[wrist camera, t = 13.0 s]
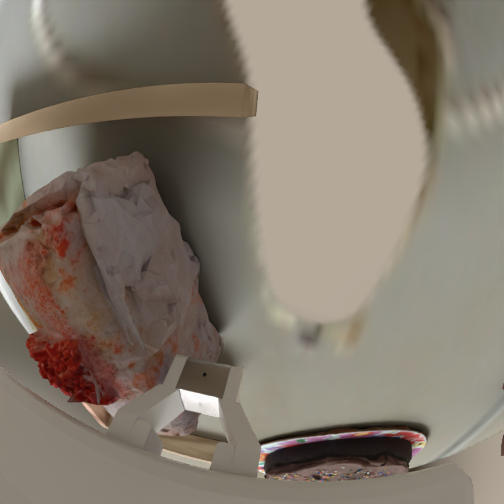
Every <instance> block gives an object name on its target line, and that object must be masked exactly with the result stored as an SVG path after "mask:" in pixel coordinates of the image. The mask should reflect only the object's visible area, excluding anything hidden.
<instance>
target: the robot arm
mask: <svg viewBox="0 0 504 504" xmlns="http://www.w3.org/2000/svg"><path fill="white" fill-rule="evenodd" d="M243 375H244V368H242V367H235V366H231V365H226V364H220V363H214V362H209V361H203V360H199V359H195V358H191V357H187V356H183V355H178V354H177V355H176V356H175V358H174V360H173V362H172V364H171V367H170V369H169V371H168V373H167V376H166V378H165V380H164V382H163V385H162V384H158V385H157V386H155V387H153V388H152V389H150V390H149V391H147V392H145V393H144V394H142V395H141V396H139V397H137V398H136V399H134V400H133V401H131V402H129V403H128V404H126V405H124V406H123V407H121V408H119V409H118V410H117V412H116V414H115V416H114V418H113V420H112V422H111V424H110V426H109V428H108V430H107V433H106V434H104V433H102V432H100V431H98V430H96V429H94V428H92V427H90V426H88V425H86V424H84V423H82V422H81V421H79V420H77V419H75V418H73V417H72V416H70V415H68V414H66V413H65V412H63V411H61V410H59V409H58V408H56V407H55V406H53V405H52V404H50V403H49V402H47V401H46V400H44V399H42V398H41V397H40V396H38V395H37V394H35V393H34V392H32V391H31V390H30V389H28V388H27V387H25V386H24V385H23V384H21V383H20V382H19V381H18V380H16V379H15V378H14V377H12V376H11V375H10V374H9V373H7V372H6V371H5V370H4V369H3V368H2V367H0V504H474V494H473V484H472V481H471V479H470V477H469V476H468V475H467V474H466V473H465V472H464V471H463V470H462V469H461V468H460V467H459V466H458V465H457V464H455V463H446V464H442V465H439V466H435V467H431V468H427V469H423V470H419V471H414V472H409V473H404V474H399V475H393V476H386V477H379V478H371V479H361V480H349V481H319V482H317V481H287V480H274V479H264V478H256V477H257V471H258V466H259V460H260V454H261V446H260V444H259V442H258V440H257V438H256V436H255V434H254V432H253V430H252V428H251V425H250V423H249V421H248V419H247V417H246V415H245V413H244V411H243V408H242V406H241V404H240V403H239V401H240V396H241V391H242V384H243ZM184 409H185V410H189V411H193V412H198V413H202V414H206V415H211V416H215V417H219V419H220V422H221V425H222V427H223V430H224V433H225V435H226V438H227V440H228V443H225V442H219V443H217V445H216V449H215V452H214V456H213V459H212V463H211V467H210V469H205V468H201V467H197V466H193V465H189V464H185V463H182V462H178V461H175V460H172V459H168V458H165V457H162V456H160V455H161V452H162V449H163V446H164V444H163V442H162V441H161V439H160V438H159V436H158V435H157V432H159V431H160V430H161V429H163V428H164V427H165V426H166V425H168V424H169V423H170V422H171V421H172V420H174V419H175V418H176V417H177V416H179V415H180V414H181V413H182V412H183V411H184Z"/></svg>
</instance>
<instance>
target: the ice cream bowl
mask: <svg viewBox="0 0 504 504" xmlns="http://www.w3.org/2000/svg"><path fill="white" fill-rule="evenodd" d="M502 389H503V390H504V384H503V387H502ZM503 455H504V435H503V439H502V444H501V456H503Z"/></svg>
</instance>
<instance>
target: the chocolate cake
mask: <svg viewBox="0 0 504 504" xmlns="http://www.w3.org/2000/svg"><path fill="white" fill-rule="evenodd" d="M426 443H427V437H426V436H425V434H424V433H423V432H418V431H414V430H412V429H410V428H408V427H407V426H404V425H403V426H386V427H369V428H365V429H361V430H360V429H356V428H345V427H344V428H335V429H331V430H327V431H323V432H319V433H313V434H306V435H301V436H296V437H290V438H285V439H280V440H274V441H270V442H267V443H264V444H260V446H261V454H260V460H259V466H258V471H260V472H262V473H266V475H265V476H264V477H265V479H274V480H287V481H317V482H319V481H349V480H361V479H371V478H379V477H386V476H393V475H399V474H404V473H407V472H408V470H409V465H408V464H409V462H410V460H411V459H412V457H413V456H415V455H416V454H417V453H418V452H420V451H421V450H422V449H423V447H424V446H425V445H426Z"/></svg>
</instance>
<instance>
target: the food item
mask: <svg viewBox="0 0 504 504" xmlns="http://www.w3.org/2000/svg"><path fill="white" fill-rule="evenodd" d="M148 165H149V159H146V158H144V156H143V155H142V154H141V153H139V152H137V151H135V152H134V153H132V154H130V155H129V156H128V155H123V156H119V157H114V158H110V159H108V160H106V161H101V162H99V161H97V162H94V163H92V164H91V165H89V166H87V167H85V168H83V169H78V170H77V172H72V171H69V172H65V173H64V174H62V175H61V176H59V177H57V178H56V179H54V180H53V181H51V182H50V183H49V184H47V185H46V186H44V187H42V188H41V189H39V190H37V191H36V192H35V193H33V194H32V195H30V196H29V197H28V198H27V199H26V200H25V201H24V202H23V203H22V204H21V205H20V206H19V208H18V209H17V210H16V211H15V212H14V213H13V214H12V216H11V218H10V219H9V221H7V222H6V223H5V224H4V225H2V226H1V227H0V270H1V273H2V274H3V276H4V278H5V280H6V281H7V283H8V285H9V286H10V288H11V289H12V291H13V293H14V295H15V297H16V299H17V301H18V303H19V304H20V306H21V308H22V309H23V311H24V312H25V313H26V315H27V316H28V318H29V319H30V321H31V322H32V324H33V325H34V327H35V328H36V330H37V331H36V332H35V333H32V334H30V338H28V339H27V341H26V346H27V348H28V349H29V352H30V356H31V357H32V358H33V359H34V360H35V361H38V362H39V364H38V367H39V368H40V369H39V372H40V374H41V376H42V378H44V379H48V380H49V382H50V385H53V386H54V387H55V388H58V387H59V388H60V389H61V391H62V392H63V393H64V394H65V395H68V396H71V397H70V398H69V400H68V402H85V403H90V404H94V405H101V406H102V407H104V408H105V409H106V410H107V411H108V412H109V413H110V414H111V415H110V416H112V417H113V418H114V416H115V414H116V412H117V410H118V409H119V408H121V407H123V406H124V405H126V404H128V403H129V402H131V401H133V400H134V399H136V398H137V397H139V396H141V395H142V394H144V393H145V392H147V391H149V390H150V389H152V388H153V387H155V386H157V385H158V384H162V385H163V382H164V380H165V378H166V376H167V373H168V371H169V369H170V367H171V364H172V362H173V360H174V358H175V356H176V355H177V354H178V355H183V356H187V357H191V358H195V359H199V360H203V361H209V362H214V363H217V362H218V359H219V356H220V354H221V352H222V349H223V346H224V344H223V340H222V338H221V336H220V335H219V334H218V332H217V330H216V328H215V327H214V326H213V325H212V323H211V322H210V321H209V319H208V314H207V311H206V308H205V305H204V303H203V301H202V299H201V297H200V295H199V293H198V284H199V274H200V262H199V259H198V257H196V256H195V255H194V254H193V252H192V250H191V248H190V246H189V244H188V243H187V242H185V241H183V240H182V237H181V231H180V224H179V223H178V222H177V221H176V220H175V219H174V218H173V217H172V216H171V215H170V214H169V213H168V211H167V208H166V207H165V205H164V204H163V201H162V199H161V197H160V194H159V192H158V189H157V187H156V180H155V176H154V175H153V172H152V171H151V169H150V167H149V166H148ZM199 414H202V413H198V412H193V411H189V410H185V409H184V411H183V412H182V413H181V414H180V415H179V416H177V417H176V418H175V419H174V420H172V421H171V422H170V423H169V424H168V425H166V426H165V427H164V428H163V429H161V430H160V431H159V432H157V434H158V435H168V436H185V435H189V434H191V433H193V432H195V431H196V428H197V424H198V417H199Z"/></svg>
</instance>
